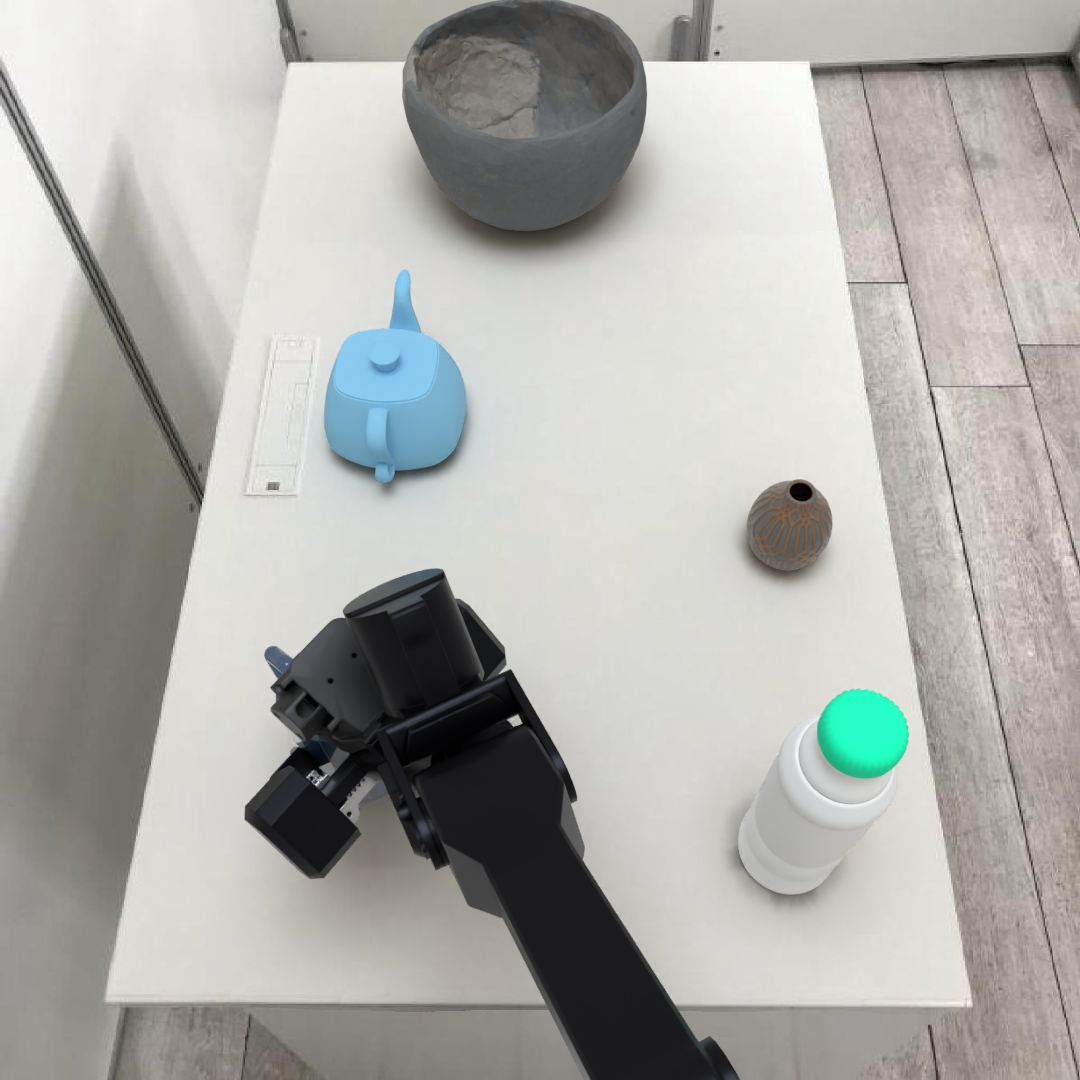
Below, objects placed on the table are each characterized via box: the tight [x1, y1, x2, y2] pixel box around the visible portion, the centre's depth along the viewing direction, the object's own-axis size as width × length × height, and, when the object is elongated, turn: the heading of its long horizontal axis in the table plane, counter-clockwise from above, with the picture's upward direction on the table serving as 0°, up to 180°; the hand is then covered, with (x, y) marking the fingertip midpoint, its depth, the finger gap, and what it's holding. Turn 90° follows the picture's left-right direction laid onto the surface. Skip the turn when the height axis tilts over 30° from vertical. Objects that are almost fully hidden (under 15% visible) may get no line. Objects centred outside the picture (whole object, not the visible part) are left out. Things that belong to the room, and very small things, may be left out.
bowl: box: [401, 0, 648, 232], centre depth 109 cm, size 24×24×15 cm
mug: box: [263, 645, 389, 804], centre depth 74 cm, size 10×7×13 cm
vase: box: [746, 478, 834, 571], centre depth 88 cm, size 7×7×9 cm
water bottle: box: [737, 688, 910, 896], centre depth 68 cm, size 7×7×25 cm
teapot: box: [323, 269, 467, 484], centre depth 95 cm, size 13×11×18 cm
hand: (332, 714), depth 74 cm, fingers closed on mug, 7 cm apart
